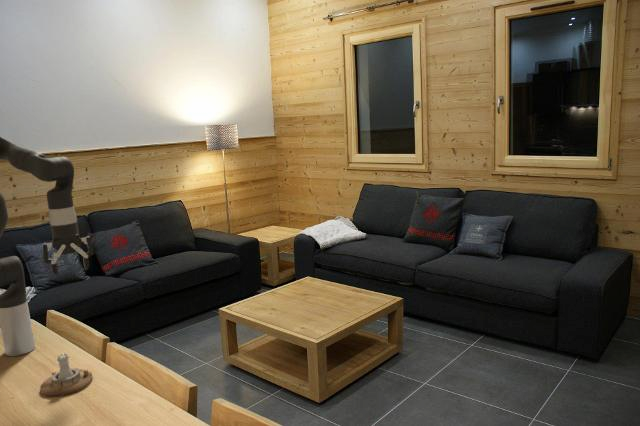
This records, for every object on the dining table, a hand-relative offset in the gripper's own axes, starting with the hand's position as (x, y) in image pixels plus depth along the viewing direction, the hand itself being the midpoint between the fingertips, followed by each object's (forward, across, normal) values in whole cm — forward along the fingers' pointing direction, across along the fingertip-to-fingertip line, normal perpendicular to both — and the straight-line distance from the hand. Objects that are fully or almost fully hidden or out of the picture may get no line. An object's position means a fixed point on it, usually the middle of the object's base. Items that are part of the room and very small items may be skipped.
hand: (71, 272), depth 170 cm
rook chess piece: (+29, +7, +14) cm, 33 cm away
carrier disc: (+30, +7, +14) cm, 34 cm away
